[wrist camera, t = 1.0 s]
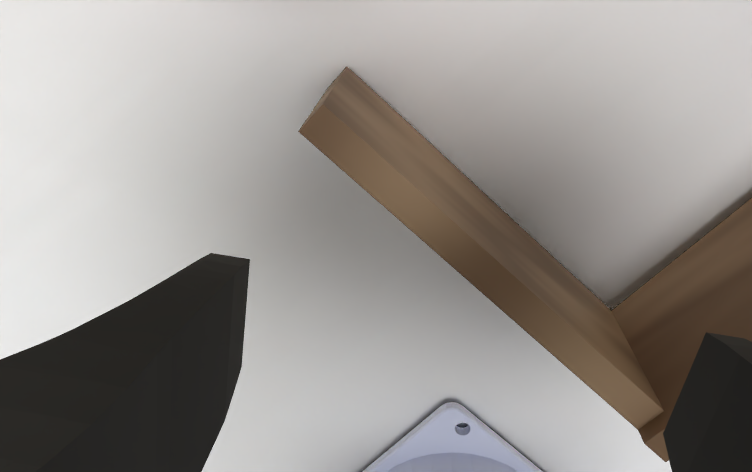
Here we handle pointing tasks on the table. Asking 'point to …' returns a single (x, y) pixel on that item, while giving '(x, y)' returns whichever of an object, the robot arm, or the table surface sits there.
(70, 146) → the table surface
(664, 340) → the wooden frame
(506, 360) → the table surface
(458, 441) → the robot arm
